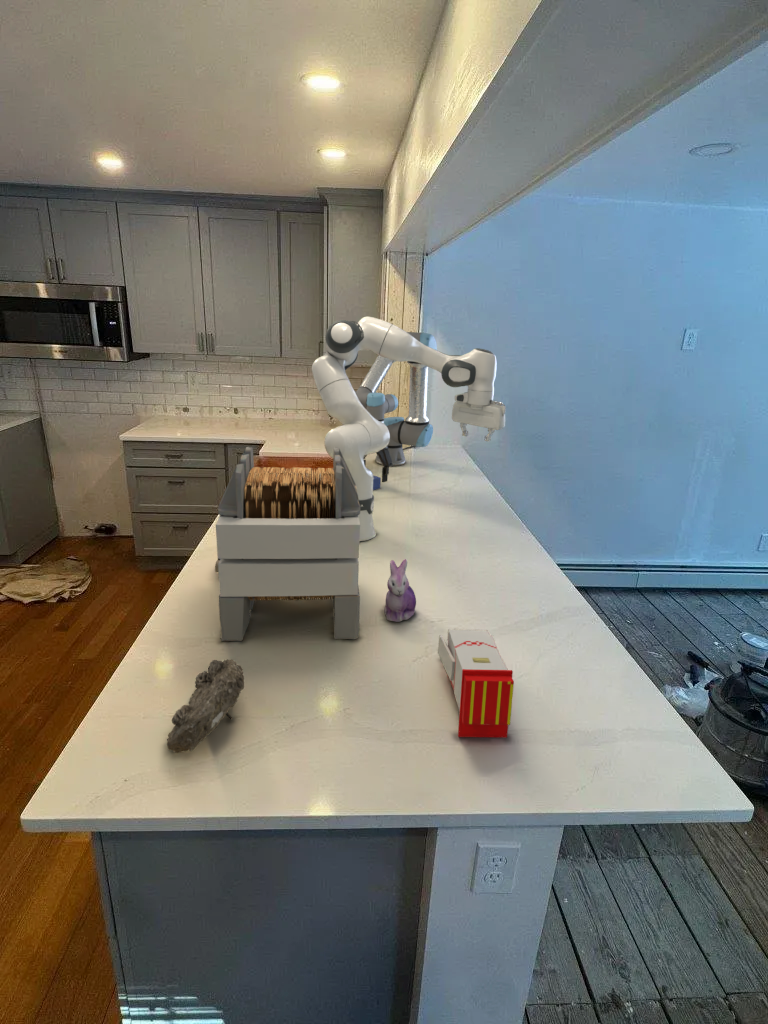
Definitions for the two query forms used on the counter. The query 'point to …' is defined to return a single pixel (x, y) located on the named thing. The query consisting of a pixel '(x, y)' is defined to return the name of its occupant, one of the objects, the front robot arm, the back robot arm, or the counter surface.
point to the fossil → (206, 705)
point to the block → (376, 482)
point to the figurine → (399, 594)
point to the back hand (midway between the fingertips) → (373, 478)
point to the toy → (478, 682)
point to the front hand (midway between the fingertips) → (475, 438)
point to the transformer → (288, 542)
